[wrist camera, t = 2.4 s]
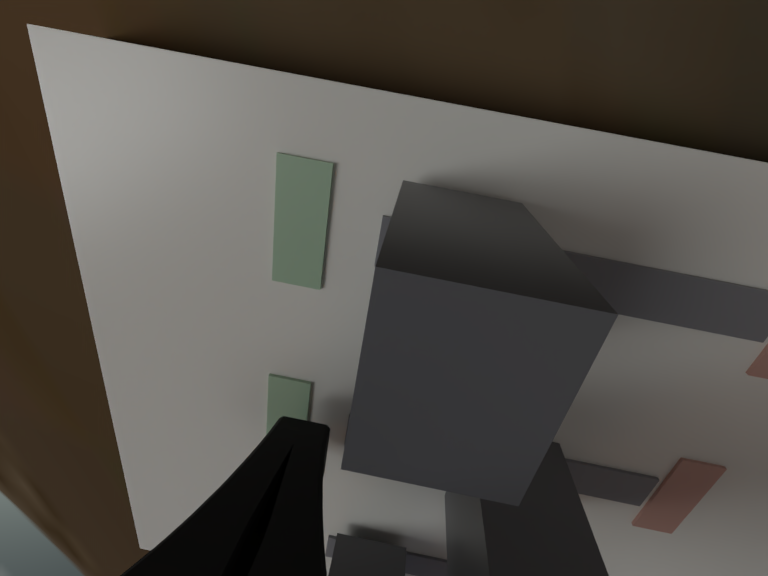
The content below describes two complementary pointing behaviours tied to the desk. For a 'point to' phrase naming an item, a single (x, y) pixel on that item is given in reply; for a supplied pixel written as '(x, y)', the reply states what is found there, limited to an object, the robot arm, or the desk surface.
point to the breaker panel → (354, 283)
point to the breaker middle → (524, 530)
